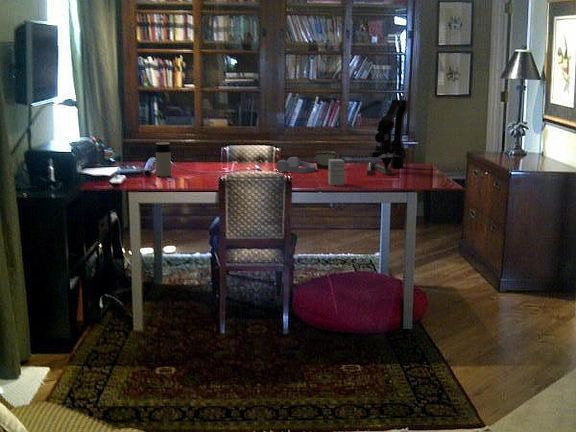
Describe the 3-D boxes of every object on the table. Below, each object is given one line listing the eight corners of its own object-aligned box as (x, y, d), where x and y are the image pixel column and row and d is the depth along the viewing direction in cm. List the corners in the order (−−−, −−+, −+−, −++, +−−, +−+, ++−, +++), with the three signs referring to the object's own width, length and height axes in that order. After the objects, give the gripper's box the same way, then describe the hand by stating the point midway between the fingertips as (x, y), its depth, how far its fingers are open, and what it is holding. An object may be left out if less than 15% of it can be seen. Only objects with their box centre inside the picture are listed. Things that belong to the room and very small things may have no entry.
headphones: (274, 172, 449) (307, 176, 442) (274, 159, 448) (308, 163, 441) (288, 167, 470) (320, 171, 463) (289, 155, 468) (321, 159, 461)
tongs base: (367, 168, 465) (367, 162, 464) (375, 168, 465) (375, 162, 464) (367, 175, 438) (367, 168, 437) (375, 175, 437) (375, 169, 436)
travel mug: (168, 177, 429) (167, 143, 425) (154, 176, 430) (153, 143, 427) (173, 175, 437) (172, 142, 433) (159, 174, 438) (158, 141, 435)
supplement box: (327, 183, 410) (328, 159, 408) (342, 183, 411) (342, 158, 409) (329, 185, 403) (330, 160, 401) (344, 185, 404) (344, 160, 401)
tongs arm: (374, 168, 460) (374, 164, 460) (377, 168, 461) (377, 164, 460) (388, 174, 437) (388, 170, 437) (392, 174, 438) (392, 170, 437)
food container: (336, 167, 466) (336, 150, 464) (335, 169, 460) (336, 152, 458) (315, 167, 467) (315, 150, 465) (314, 169, 461) (314, 151, 459)
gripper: (396, 139, 456) (396, 167, 459) (365, 141, 451) (365, 168, 454) (403, 141, 445) (403, 169, 448) (372, 142, 441) (372, 170, 444)
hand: (386, 169), depth 449 cm, fingers closed
